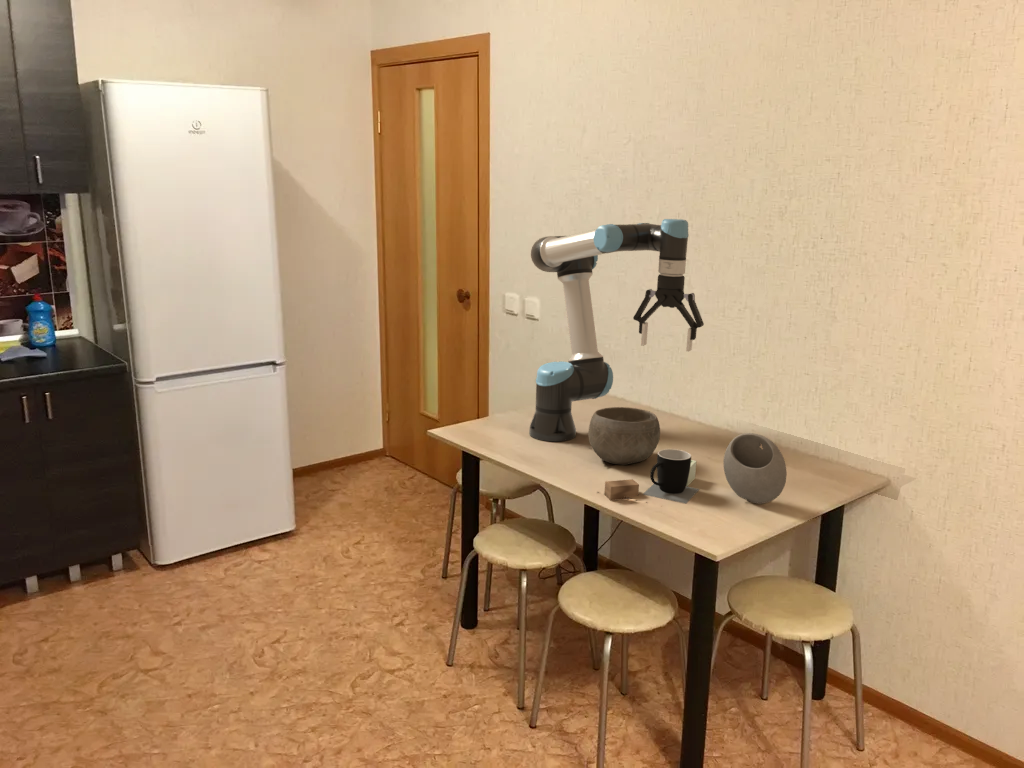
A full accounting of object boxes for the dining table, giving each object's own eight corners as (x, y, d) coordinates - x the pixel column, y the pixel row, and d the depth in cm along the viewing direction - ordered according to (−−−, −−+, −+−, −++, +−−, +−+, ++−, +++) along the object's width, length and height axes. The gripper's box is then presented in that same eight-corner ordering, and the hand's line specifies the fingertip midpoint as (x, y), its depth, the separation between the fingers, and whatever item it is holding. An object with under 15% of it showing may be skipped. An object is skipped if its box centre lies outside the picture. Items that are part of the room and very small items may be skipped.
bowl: (616, 445, 268) (619, 399, 264) (671, 462, 254) (675, 414, 250) (573, 460, 254) (575, 411, 250) (628, 478, 240) (631, 428, 236)
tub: (662, 483, 236) (664, 463, 235) (670, 476, 242) (672, 456, 241) (687, 488, 233) (688, 468, 232) (694, 481, 239) (696, 460, 238)
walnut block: (610, 501, 224) (610, 486, 223) (604, 495, 227) (605, 481, 226) (638, 498, 226) (639, 484, 225) (631, 493, 230) (632, 479, 229)
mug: (673, 481, 236) (676, 447, 233) (695, 492, 228) (698, 456, 226) (639, 488, 230) (641, 453, 228) (660, 499, 223) (662, 463, 220)
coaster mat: (642, 497, 226) (642, 494, 226) (657, 483, 237) (657, 480, 236) (685, 506, 221) (686, 503, 221) (699, 491, 231) (699, 489, 231)
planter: (713, 494, 230) (719, 428, 225) (728, 488, 234) (735, 423, 230) (774, 515, 216) (781, 446, 212) (789, 509, 221) (797, 440, 216)
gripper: (625, 272, 243) (621, 344, 249) (711, 279, 232) (704, 355, 237) (634, 269, 250) (630, 340, 255) (718, 276, 238) (712, 350, 244)
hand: (666, 347), depth 246 cm, fingers open, 13 cm apart
